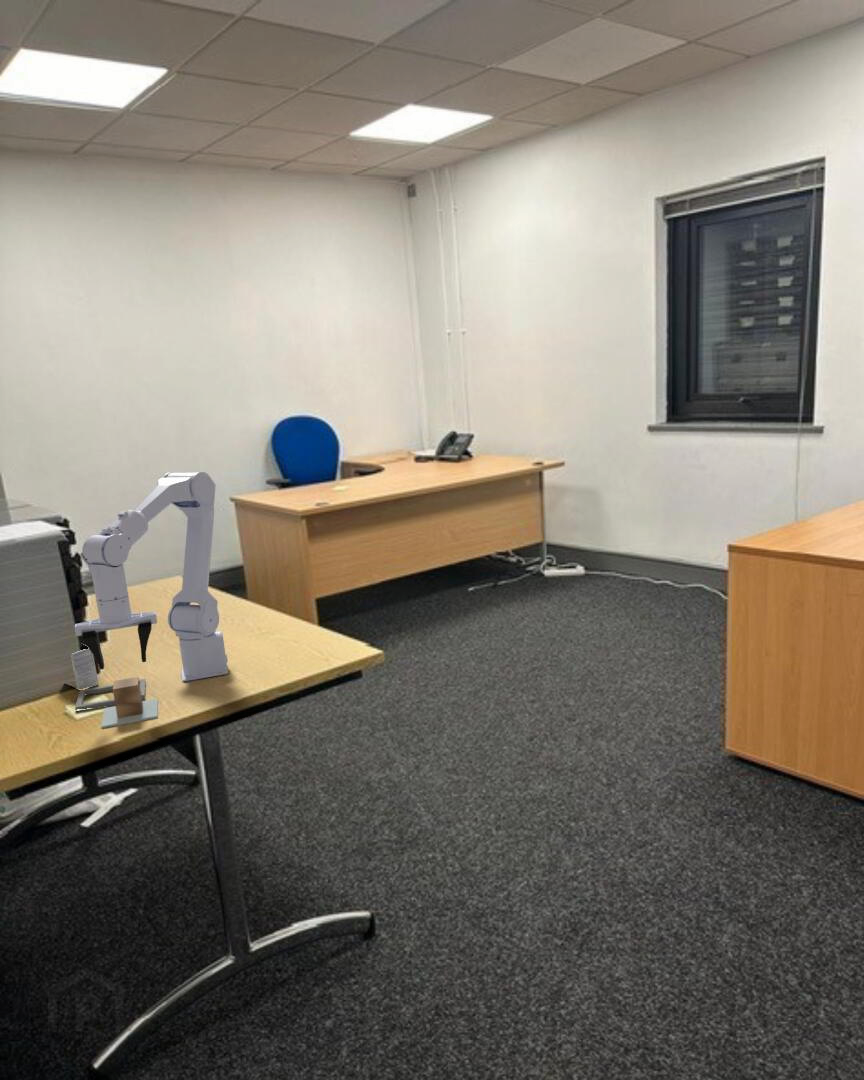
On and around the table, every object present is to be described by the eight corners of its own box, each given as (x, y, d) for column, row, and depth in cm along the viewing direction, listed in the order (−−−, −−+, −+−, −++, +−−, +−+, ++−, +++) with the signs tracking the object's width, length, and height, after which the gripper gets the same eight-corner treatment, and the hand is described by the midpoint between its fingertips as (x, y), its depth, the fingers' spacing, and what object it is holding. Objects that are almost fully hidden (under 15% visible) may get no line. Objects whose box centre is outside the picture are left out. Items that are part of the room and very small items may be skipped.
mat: (157, 700, 158) (157, 698, 158) (157, 717, 150) (157, 715, 149) (105, 710, 155) (104, 708, 155) (101, 728, 147) (101, 726, 146)
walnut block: (143, 705, 155) (138, 676, 154) (142, 713, 151) (137, 684, 150) (118, 709, 154) (114, 681, 152) (117, 718, 149) (112, 689, 148)
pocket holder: (146, 683, 168) (145, 678, 167) (145, 699, 159) (144, 694, 159) (80, 694, 164) (79, 690, 163) (76, 712, 155) (75, 707, 155)
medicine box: (99, 685, 168) (92, 647, 167) (78, 692, 165) (72, 653, 163) (83, 677, 174) (76, 640, 172) (62, 684, 170) (56, 647, 169)
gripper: (68, 608, 142) (81, 678, 145) (152, 596, 147) (162, 663, 150) (72, 598, 149) (84, 665, 152) (152, 587, 153) (162, 652, 156)
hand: (123, 664), depth 151 cm, fingers open, 7 cm apart
